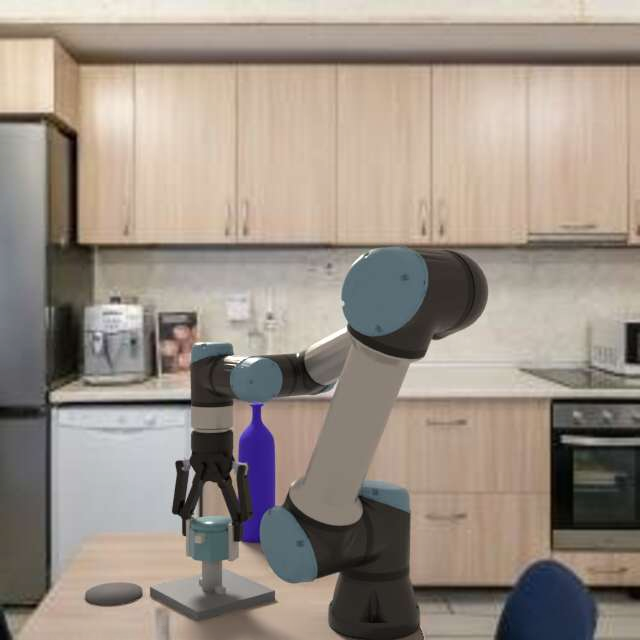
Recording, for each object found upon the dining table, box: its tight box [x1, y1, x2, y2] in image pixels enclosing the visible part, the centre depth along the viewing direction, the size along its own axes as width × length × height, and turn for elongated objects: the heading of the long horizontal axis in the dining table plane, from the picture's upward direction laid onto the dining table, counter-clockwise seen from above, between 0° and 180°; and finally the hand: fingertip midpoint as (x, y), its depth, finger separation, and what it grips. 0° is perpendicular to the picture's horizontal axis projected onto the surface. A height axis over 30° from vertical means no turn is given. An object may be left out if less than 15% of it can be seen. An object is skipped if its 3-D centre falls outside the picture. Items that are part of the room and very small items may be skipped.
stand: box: [149, 560, 276, 622], centre depth 151 cm, size 16×16×10 cm
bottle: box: [237, 402, 276, 543], centre depth 188 cm, size 8×8×30 cm
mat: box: [84, 581, 143, 606], centre depth 152 cm, size 10×10×1 cm
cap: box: [189, 515, 232, 562], centre depth 150 cm, size 11×8×6 cm
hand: (212, 556), depth 151 cm, fingers closed on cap, 8 cm apart
